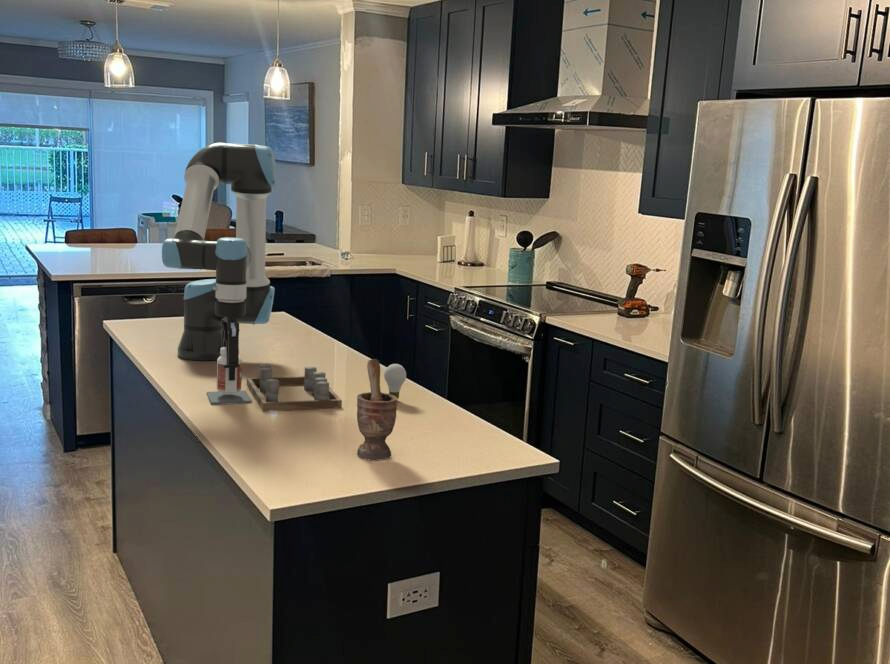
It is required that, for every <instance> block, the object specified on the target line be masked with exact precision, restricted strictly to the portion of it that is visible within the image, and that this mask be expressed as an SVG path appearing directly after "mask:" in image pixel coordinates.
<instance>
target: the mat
mask: <svg viewBox="0 0 890 664" xmlns="http://www.w3.org/2000/svg"><path fill="white" fill-rule="evenodd" d="M206 396H207V398H208V401H209V403H210V405H211V406H213V405H235V404H236V405H237V404H252V401H253V400H252V399H251V397H250V396H249V394H248V392H247V390H240V391H239V392H235V393H223V392H219V391H218V390H217V391H216V390H215V391H206Z"/></svg>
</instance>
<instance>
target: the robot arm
mask: <svg viewBox="0 0 890 664" xmlns="http://www.w3.org/2000/svg"><path fill="white" fill-rule="evenodd" d="M276 167H277V166H276V158H275V153H274V151H273V149H272V147H270V146H268V145H260V144H259V145H258V144H253V143H252V144H250V143H249V144H248V143H230V142H228V143H227V142H215V143H211V144H208V145H206V146H204V147H203V148H202V149H200V150H199V151H197V152H196V153H195V154H194V155H193V156H192V157H191V159H190V160H189V161H188V163H187V165H186V167H185V170H184V171H185V172H184V177H183V178H184V182H185V188H184V193H183V195H182V202H181V206H180V210H179V215H178V219H177V223H176V228H175V233H174V237H172V238H165V239H164V241H163V242H162V245H161V261H162V264H163V265H164V267H166V268H170V269H177V270H204V271H206V270H207V271H215V278H210V279H209V278H208V279H199V280H195V281H194V280H193V281H191V282H188V283H187V284H186V285H185V286H184V292H183V293H184V294H183V332H182V335H181V336H180V337H181V338H180V340H179V343H178V346H177V357H179V358H181V359H186V360H191V361H217V359H218V358H219V357H220V356H221V354H220V348H222V347H226V355H227V365H224V368H226V379H225V392H226V393H232V392H237V367H238V366H239V364H238V356H239V355H240V345H239V343H240V341H239V340H240V339H239V337H240V335H239V334H240V324H241V325H242V324H248V325H265V324H268V322H270V318H271V315H272V310H273V304H274V298H275V289H276V288H275V287H274V286H272V285H271V281H270V279H269V278H268V277H267V276H266V235H267V234H266V233H267V232H266V230H267V229H266V228H267V227H266V225H267V219H266V218H267V197H268V196H270V195H271V194H272V188H276V186H277V185H278V184H277V183H278V180H277V175H278V174H277V168H276ZM219 184H224V185H230V191H231V192H232V194H234V195H235V199H236V200H235V202H236V208H235V209H236V210H235V211H236V216H235V217H236V219H235V220H236V221H235V224H236V225H235V226H236V227H235V230H236V231H235V237H220V238H218V239H217V240H214V241H213V240H205V236H206V232H207V226H208V221H209V216H210V211H211V206H212V202H213V195H214V191H215V190H216V189H217V188H218V187H219Z"/></svg>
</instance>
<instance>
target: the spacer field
mask: <svg viewBox="0 0 890 664" xmlns="http://www.w3.org/2000/svg"><path fill="white" fill-rule="evenodd" d="M317 369H318V368H317V367H315V366H305V367H304V375H302V376H276V377H273V368H272V364H269V363H264V364H263V363H262V364H259V369H258V370H259V373H258V377H247V378H246V387H247V388H248V391H250V393H251V394H252V397H254V399H255V401H256V403H257V404H258V406H259V407H260V409H261V411H262V412H273V411H275V412H276V411H277V412H278V411H296V410H297V411H298V410H301V411H302V410H319V409H320V410H321V409H322V410H323V409H325V410H326V409H342V408H343V407H342V406H343V405H342V404H343V399H341V397H339V395H338V394H337V393H336V391H334V390H333V389H332V388H331V387H330V382H328V378H326V372H323V371H317ZM288 385H289V386H292V385H303V390H304V391H306V392H312V396H313V399H312V400H309V399H308V400H287V401H286V400H285V401H284V400H281V401H279V399H280V397H279V394H280V386H288ZM258 388H259V389H258ZM261 393H265V398H264V396H263V395H262V394H261Z"/></svg>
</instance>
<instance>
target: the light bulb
mask: <svg viewBox="0 0 890 664" xmlns="http://www.w3.org/2000/svg"><path fill="white" fill-rule="evenodd" d="M406 371H407V370H405V368H404V367H403V365H401V364H399V363H392V364H389V365H388V366H387V367H386V368H385V369H384V373H383V378H384V381H385V382H386V385H387V387H388V394H391V395H394V396H396V397H397V400H399V398H400V391H401V388H402V386H403V384H404V383H405V381H406V379H407V372H406Z"/></svg>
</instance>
